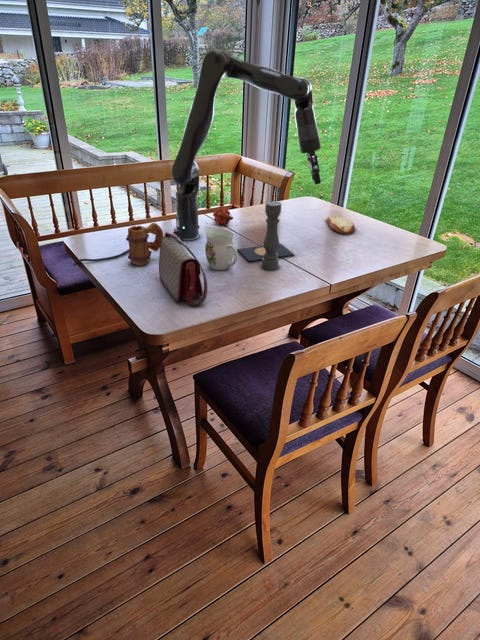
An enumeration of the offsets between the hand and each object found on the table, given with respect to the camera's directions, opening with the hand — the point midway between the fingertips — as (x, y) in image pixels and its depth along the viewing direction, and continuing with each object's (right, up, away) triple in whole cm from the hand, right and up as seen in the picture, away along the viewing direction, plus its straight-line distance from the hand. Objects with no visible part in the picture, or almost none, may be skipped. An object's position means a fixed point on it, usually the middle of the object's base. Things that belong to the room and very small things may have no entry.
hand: (316, 181), depth 172 cm
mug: (-66, -30, +7) cm, 73 cm away
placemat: (-19, -25, +16) cm, 35 cm away
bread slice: (+18, -8, +46) cm, 50 cm away
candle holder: (-18, -32, +4) cm, 37 cm away
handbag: (-49, -43, -14) cm, 67 cm away
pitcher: (-36, -32, +3) cm, 49 cm away
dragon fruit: (-38, -6, +48) cm, 61 cm away
